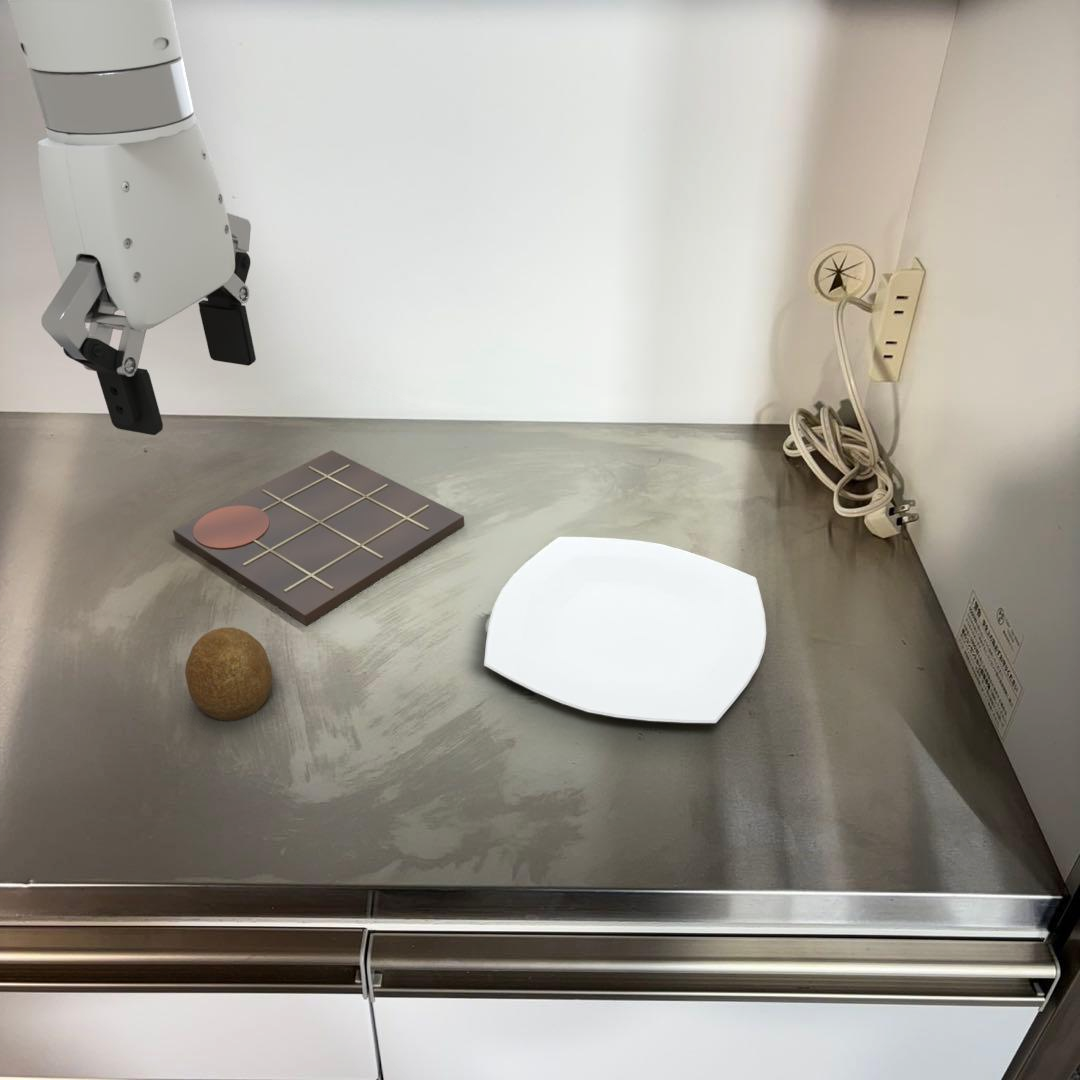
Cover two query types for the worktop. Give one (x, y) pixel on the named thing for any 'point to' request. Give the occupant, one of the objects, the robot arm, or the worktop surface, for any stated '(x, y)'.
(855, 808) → the worktop surface
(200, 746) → the worktop surface
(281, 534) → the board
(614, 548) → the plate
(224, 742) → the worktop surface
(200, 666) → the fruit
